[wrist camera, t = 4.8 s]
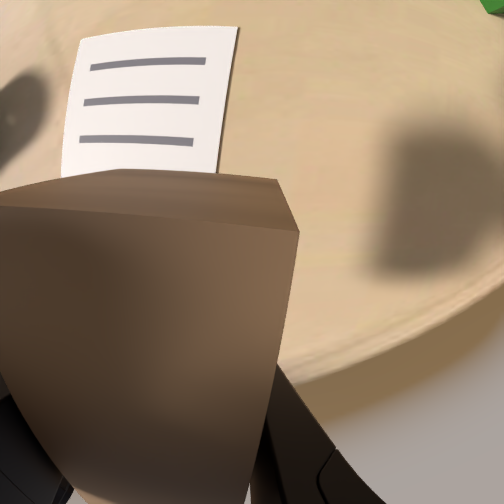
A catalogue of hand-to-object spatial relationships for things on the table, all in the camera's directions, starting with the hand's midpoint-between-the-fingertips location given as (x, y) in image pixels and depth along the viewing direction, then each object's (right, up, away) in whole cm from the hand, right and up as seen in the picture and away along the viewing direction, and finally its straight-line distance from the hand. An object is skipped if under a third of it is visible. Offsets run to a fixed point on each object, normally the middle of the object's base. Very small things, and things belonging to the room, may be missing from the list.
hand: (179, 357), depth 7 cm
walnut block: (0, 0, +1) cm, 1 cm away
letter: (-5, +10, +8) cm, 14 cm away
